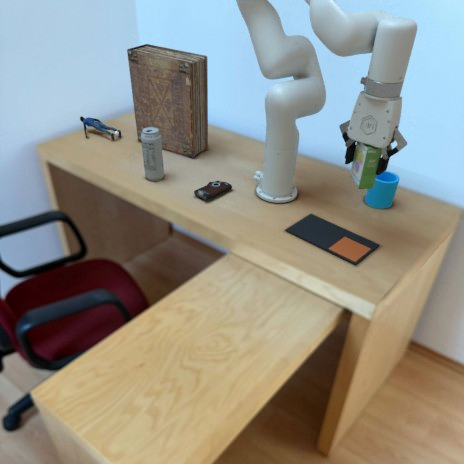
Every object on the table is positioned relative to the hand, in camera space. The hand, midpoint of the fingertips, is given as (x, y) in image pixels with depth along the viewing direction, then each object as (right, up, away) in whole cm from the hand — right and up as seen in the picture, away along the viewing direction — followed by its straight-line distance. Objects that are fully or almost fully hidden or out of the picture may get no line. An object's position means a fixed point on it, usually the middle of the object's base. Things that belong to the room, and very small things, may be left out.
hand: (364, 167), depth 104 cm
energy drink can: (-56, +8, +36) cm, 68 cm away
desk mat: (-5, -15, +13) cm, 21 cm away
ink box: (0, -3, +3) cm, 4 cm away
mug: (+13, 0, +31) cm, 34 cm away
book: (-53, +26, +55) cm, 81 cm away
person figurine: (-81, +32, +60) cm, 106 cm away
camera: (-38, +2, +30) cm, 48 cm away
